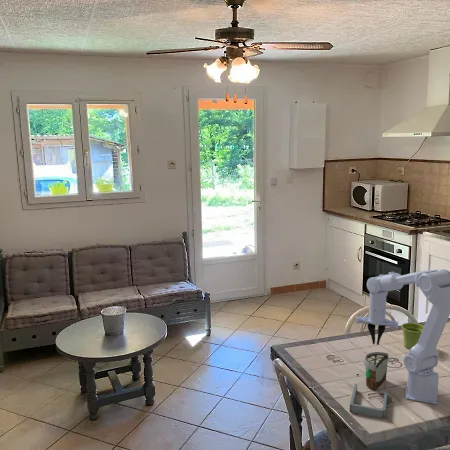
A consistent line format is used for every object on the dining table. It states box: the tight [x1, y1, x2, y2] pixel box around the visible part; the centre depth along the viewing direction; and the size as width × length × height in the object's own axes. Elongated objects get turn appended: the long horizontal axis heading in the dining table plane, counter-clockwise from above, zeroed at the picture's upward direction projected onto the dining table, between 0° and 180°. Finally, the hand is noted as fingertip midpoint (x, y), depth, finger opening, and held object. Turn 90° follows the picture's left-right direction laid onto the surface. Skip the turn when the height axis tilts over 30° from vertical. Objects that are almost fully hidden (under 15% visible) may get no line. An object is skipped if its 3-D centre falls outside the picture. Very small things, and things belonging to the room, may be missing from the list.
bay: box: [349, 383, 388, 419], centre depth 150 cm, size 11×14×2 cm
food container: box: [363, 351, 390, 392], centre depth 162 cm, size 12×6×10 cm, turn 141°
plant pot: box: [401, 322, 424, 350], centre depth 190 cm, size 9×9×9 cm
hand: (375, 343), depth 171 cm, fingers closed
